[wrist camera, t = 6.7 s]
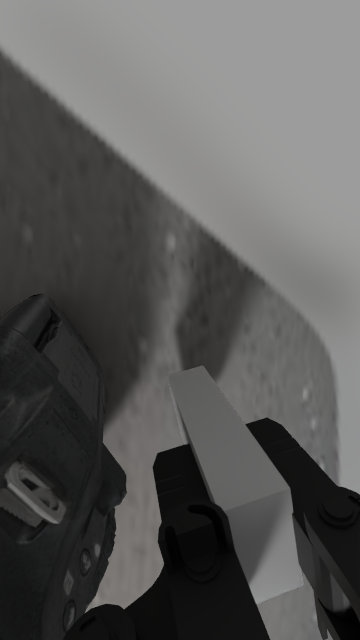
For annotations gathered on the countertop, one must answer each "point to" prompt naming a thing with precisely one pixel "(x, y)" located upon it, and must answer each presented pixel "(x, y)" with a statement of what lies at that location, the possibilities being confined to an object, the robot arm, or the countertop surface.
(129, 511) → the countertop surface
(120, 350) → the countertop surface
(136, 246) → the countertop surface
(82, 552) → the camera
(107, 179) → the countertop surface
